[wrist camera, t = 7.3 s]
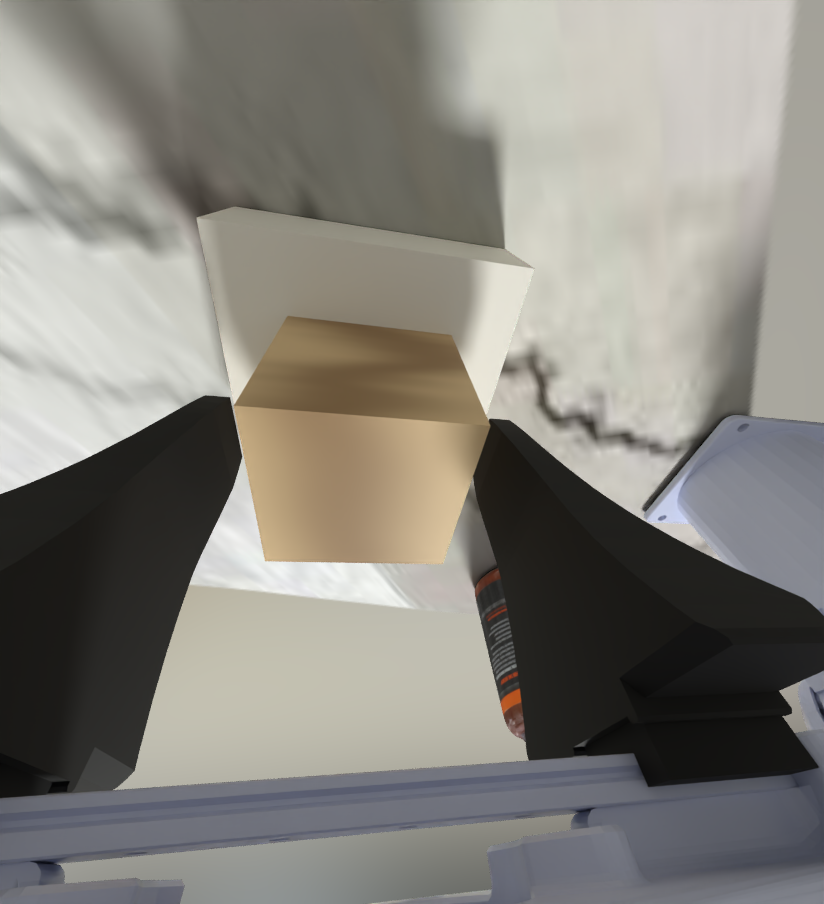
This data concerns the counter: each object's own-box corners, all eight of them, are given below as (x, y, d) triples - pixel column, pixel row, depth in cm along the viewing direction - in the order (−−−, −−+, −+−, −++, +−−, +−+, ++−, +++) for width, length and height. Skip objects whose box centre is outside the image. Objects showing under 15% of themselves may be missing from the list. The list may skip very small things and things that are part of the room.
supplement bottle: (467, 602, 28) (507, 796, 20) (479, 560, 25) (535, 776, 16) (538, 598, 29) (607, 786, 20) (561, 556, 25) (658, 764, 16)
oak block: (451, 334, 11) (490, 425, 7) (425, 455, 14) (442, 564, 10) (287, 315, 10) (233, 405, 6) (297, 447, 13) (265, 560, 10)
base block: (505, 249, 12) (534, 268, 10) (451, 447, 18) (461, 489, 16) (234, 206, 11) (196, 218, 9) (267, 435, 17) (249, 479, 14)
